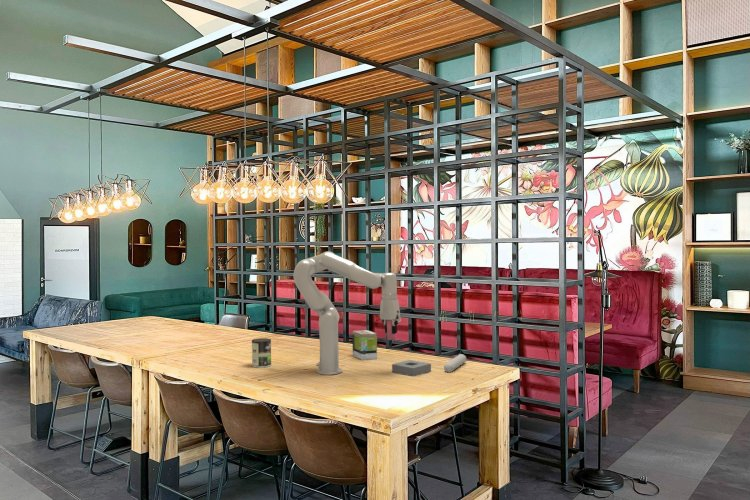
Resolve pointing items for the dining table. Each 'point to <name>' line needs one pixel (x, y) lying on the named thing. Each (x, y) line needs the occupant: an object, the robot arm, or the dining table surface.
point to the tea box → (364, 344)
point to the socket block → (411, 367)
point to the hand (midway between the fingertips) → (391, 332)
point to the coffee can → (261, 353)
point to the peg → (390, 330)
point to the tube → (455, 363)
